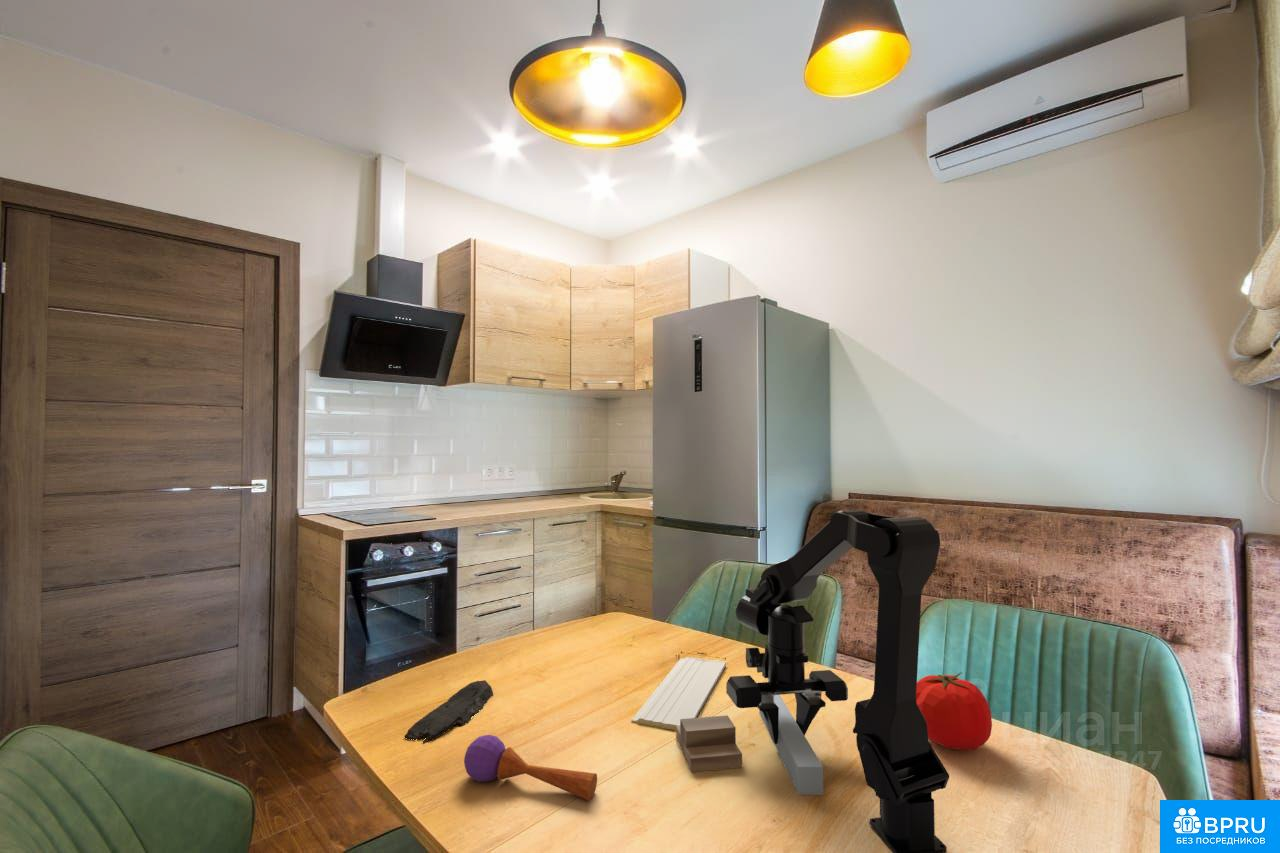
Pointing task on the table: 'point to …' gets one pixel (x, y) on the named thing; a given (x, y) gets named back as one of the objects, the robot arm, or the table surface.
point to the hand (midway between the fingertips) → (786, 741)
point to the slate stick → (797, 753)
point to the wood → (452, 712)
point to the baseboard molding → (680, 693)
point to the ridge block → (709, 743)
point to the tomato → (954, 711)
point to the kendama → (521, 768)
